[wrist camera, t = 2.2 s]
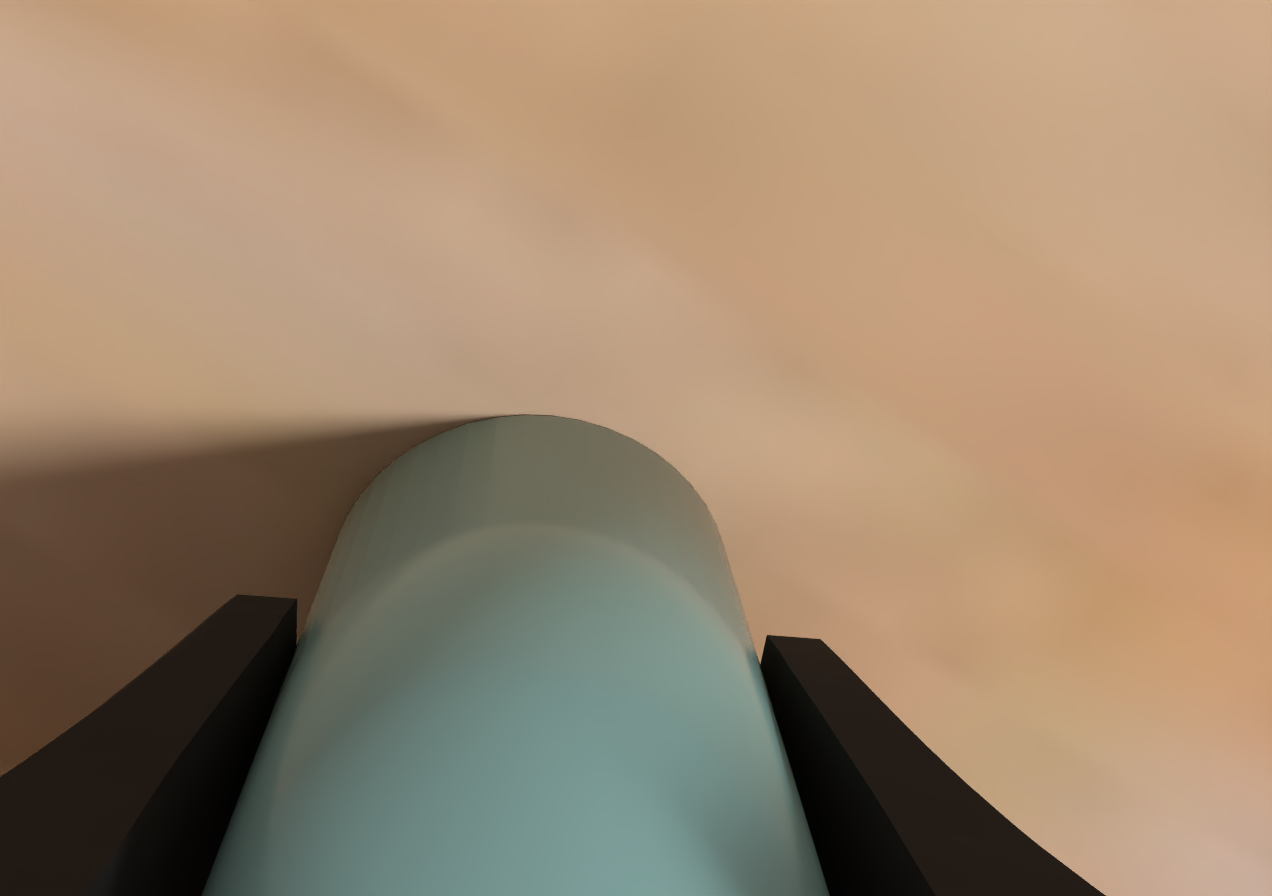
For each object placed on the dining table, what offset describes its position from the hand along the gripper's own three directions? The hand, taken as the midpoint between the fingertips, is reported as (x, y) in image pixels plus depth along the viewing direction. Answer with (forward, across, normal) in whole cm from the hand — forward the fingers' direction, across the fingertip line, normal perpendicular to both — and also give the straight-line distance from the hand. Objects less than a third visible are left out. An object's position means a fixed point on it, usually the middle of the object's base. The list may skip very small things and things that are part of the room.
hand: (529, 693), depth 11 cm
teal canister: (+2, 0, 0) cm, 2 cm away
